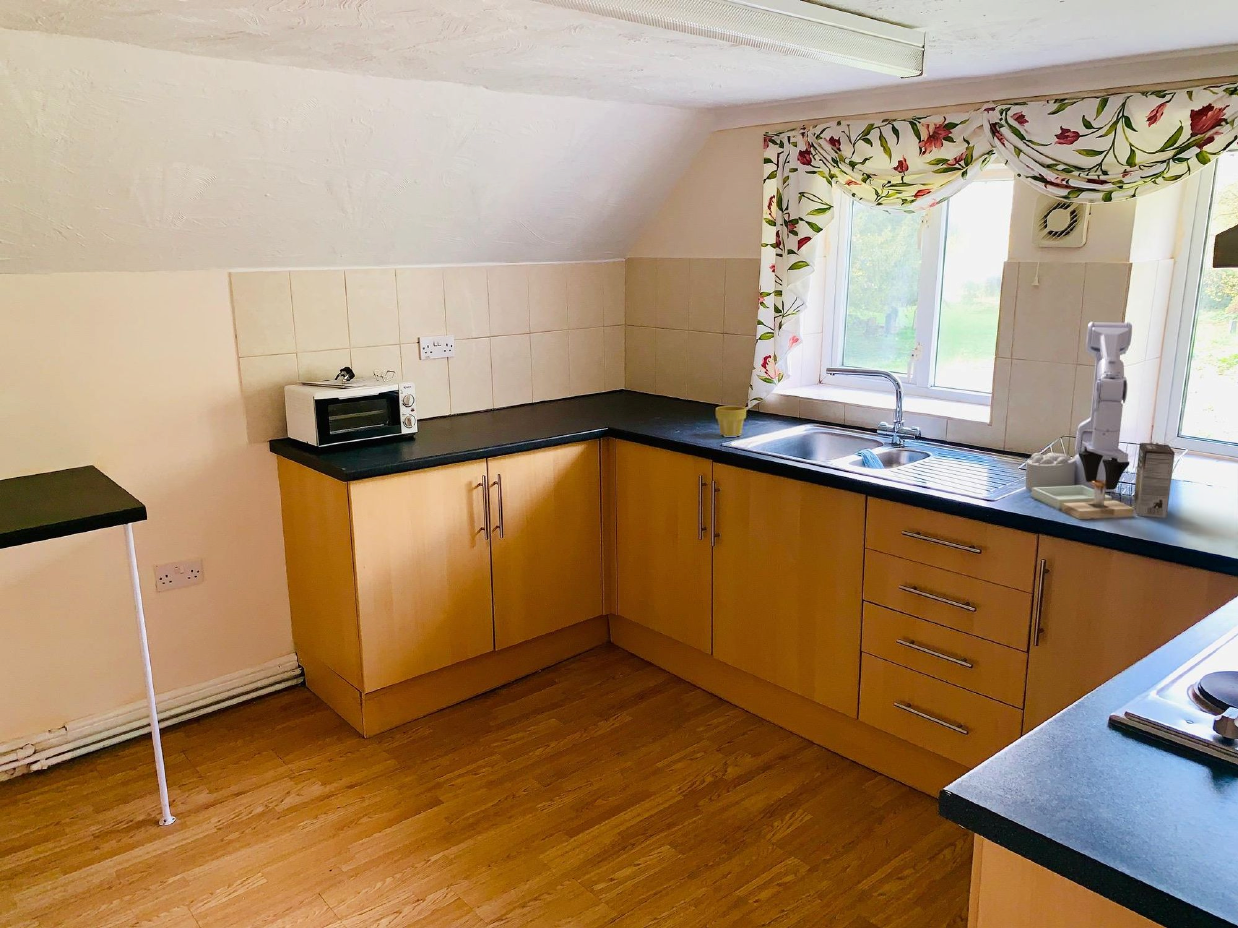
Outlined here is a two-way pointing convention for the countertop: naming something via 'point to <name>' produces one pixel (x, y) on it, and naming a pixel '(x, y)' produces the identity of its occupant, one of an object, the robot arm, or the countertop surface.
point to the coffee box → (1153, 480)
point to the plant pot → (730, 419)
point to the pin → (1099, 493)
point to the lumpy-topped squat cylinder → (1050, 470)
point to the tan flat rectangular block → (1098, 510)
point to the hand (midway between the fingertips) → (1100, 485)
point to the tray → (1064, 495)
